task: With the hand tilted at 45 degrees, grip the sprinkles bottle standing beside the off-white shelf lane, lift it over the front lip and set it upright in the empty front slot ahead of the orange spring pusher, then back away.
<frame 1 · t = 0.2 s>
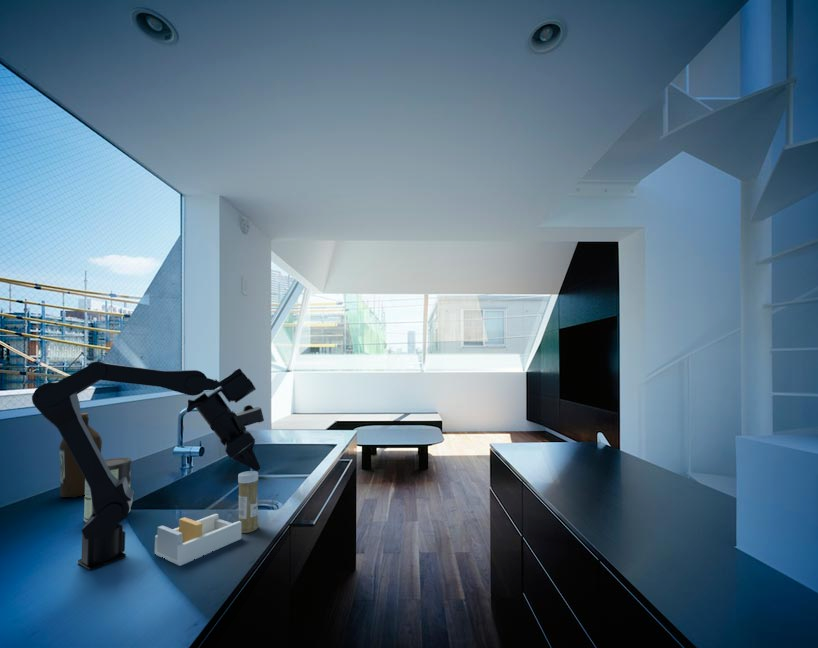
hand: (255, 465, 102), 15 cm above the worktop, tool tilted 35°, fingers open, 9 cm apart
sprinkles bottle: (248, 530, 99), on the worktop
shelf lane: (199, 546, 91), on the worktop
spring pusher: (190, 532, 90), point 4 cm above the worktop, slide at 0.0 cm
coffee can: (107, 516, 111), on the worktop
olive oil: (79, 493, 131), on the worktop
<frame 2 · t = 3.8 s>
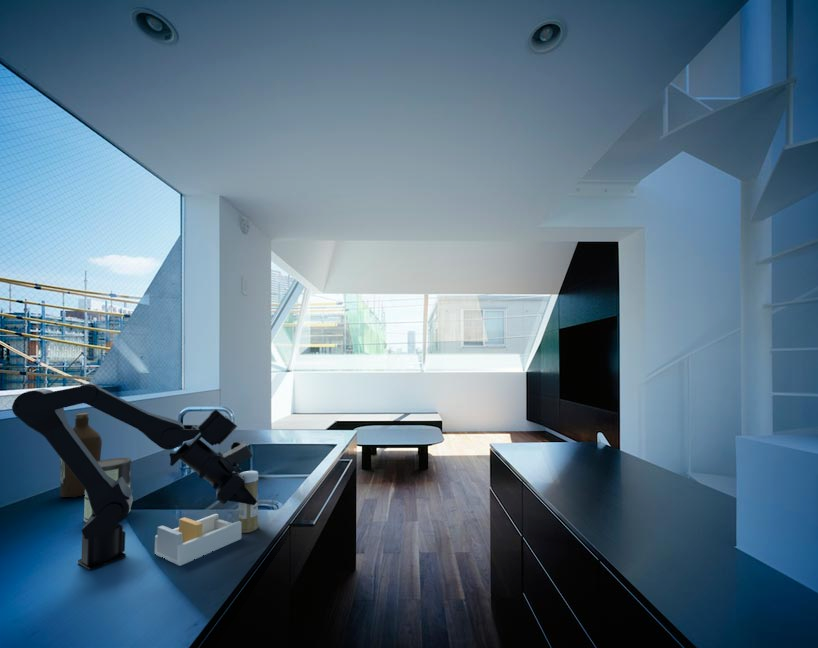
hand: (254, 500, 100), 7 cm above the worktop, tool tilted 45°, fingers closed on sprinkles bottle, 4 cm apart
sprinkles bottle: (248, 530, 99), on the worktop, touching gripper
everything else where it was.
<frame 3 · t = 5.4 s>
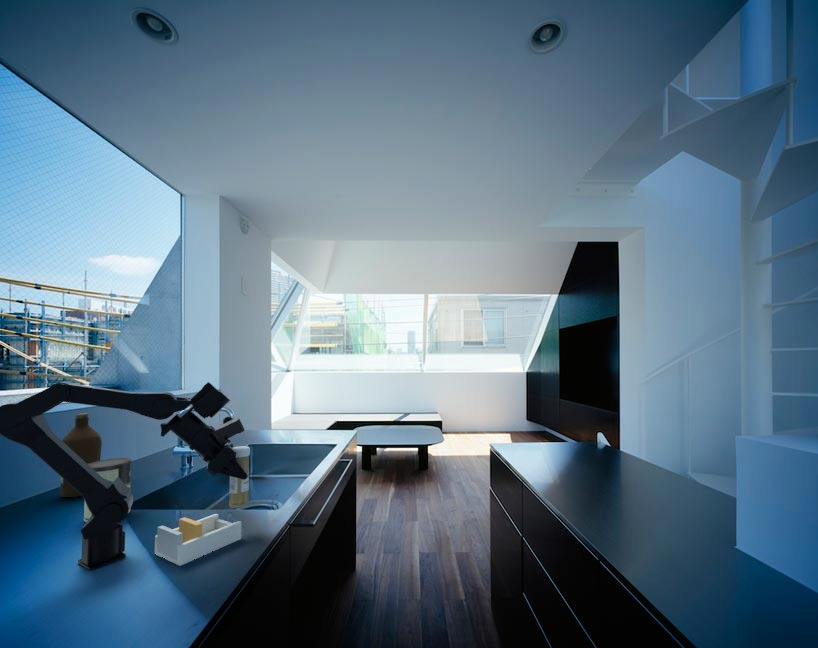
hand: (245, 475, 100), 13 cm above the worktop, tool tilted 45°, fingers closed on sprinkles bottle, 4 cm apart
sprinkles bottle: (238, 505, 98), point 6 cm above the worktop, touching gripper
everything else where it was.
when the fingers open (9 cm above the worktop, at t = 7.3 s): sprinkles bottle drops 1 cm, resting on shelf lane.
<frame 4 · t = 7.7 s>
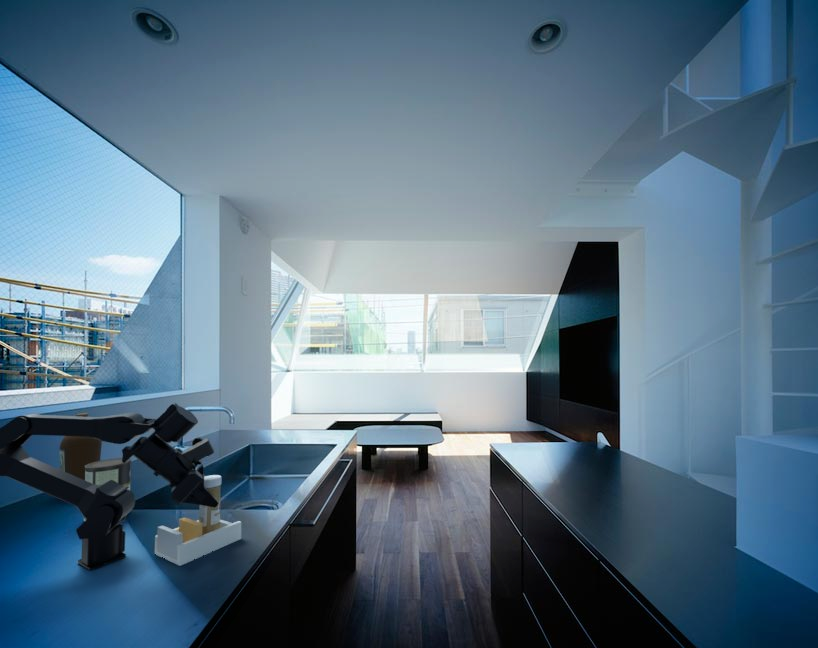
hand: (216, 499, 94), 9 cm above the worktop, tool tilted 45°, fingers open, 8 cm apart
sprinkles bottle: (209, 538, 93), point 1 cm above the worktop, touching shelf lane
everything else where it was.
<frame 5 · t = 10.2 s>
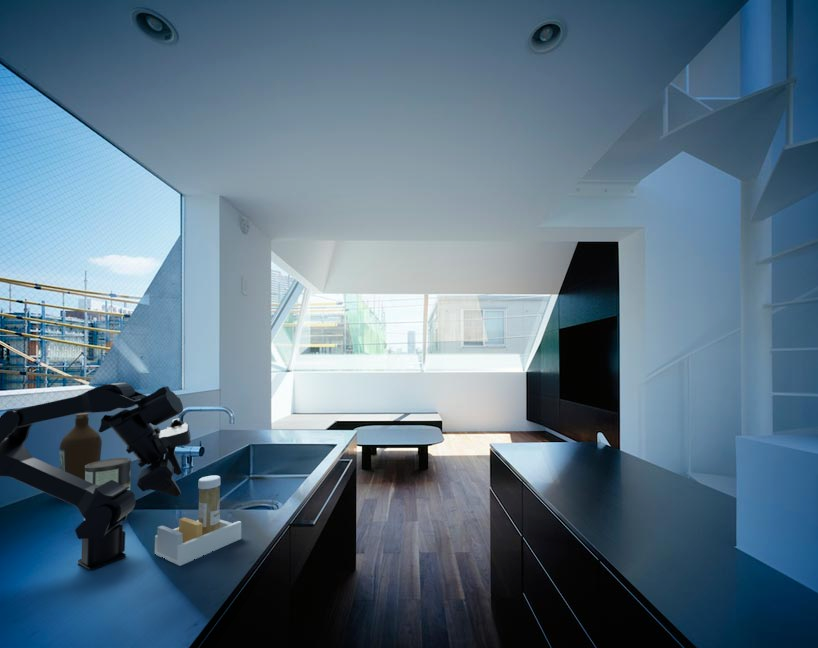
hand: (179, 484, 96), 13 cm above the worktop, tool tilted 35°, fingers open, 9 cm apart
nothing on the worktop moved.
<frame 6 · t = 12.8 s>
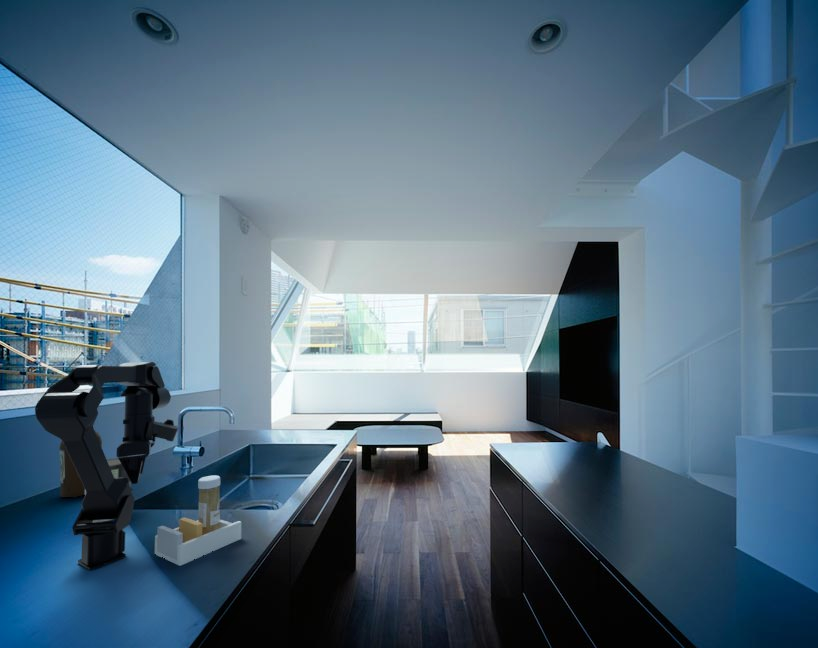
hand: (137, 478, 100), 13 cm above the worktop, tool pointing down, fingers open, 9 cm apart
nothing on the worktop moved.
at the end: sprinkles bottle 0.2 cm from the target spot on the shelf lane, point 0.6 cm above the shelf lane's base; sprinkles bottle tilted 0°; the gripper is holding nothing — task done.
